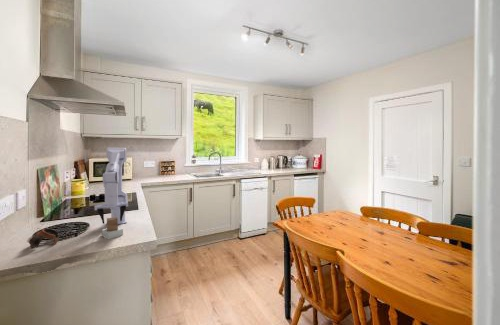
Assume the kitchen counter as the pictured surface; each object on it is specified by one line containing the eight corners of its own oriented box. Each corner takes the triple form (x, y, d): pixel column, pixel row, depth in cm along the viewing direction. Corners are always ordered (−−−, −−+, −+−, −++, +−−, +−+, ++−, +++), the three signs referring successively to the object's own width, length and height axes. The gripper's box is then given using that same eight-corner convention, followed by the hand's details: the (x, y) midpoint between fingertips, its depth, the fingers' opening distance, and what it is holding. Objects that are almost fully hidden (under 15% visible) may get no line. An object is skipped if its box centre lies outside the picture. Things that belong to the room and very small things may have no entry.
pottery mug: (37, 242, 112) (48, 226, 113) (56, 251, 112) (66, 234, 114) (16, 246, 100) (28, 228, 101) (37, 256, 100) (49, 238, 102)
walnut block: (107, 228, 120) (106, 218, 120) (117, 227, 123) (116, 216, 122) (107, 231, 117) (107, 220, 116) (117, 229, 119) (117, 219, 119)
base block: (102, 236, 119) (102, 229, 119) (116, 232, 125) (116, 225, 125) (108, 239, 115) (108, 232, 115) (123, 235, 121) (122, 228, 120)
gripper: (94, 198, 111) (95, 226, 112) (128, 195, 119) (129, 221, 120) (94, 195, 117) (95, 222, 118) (126, 192, 125) (127, 217, 126)
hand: (112, 221), depth 119 cm, fingers open, 7 cm apart
